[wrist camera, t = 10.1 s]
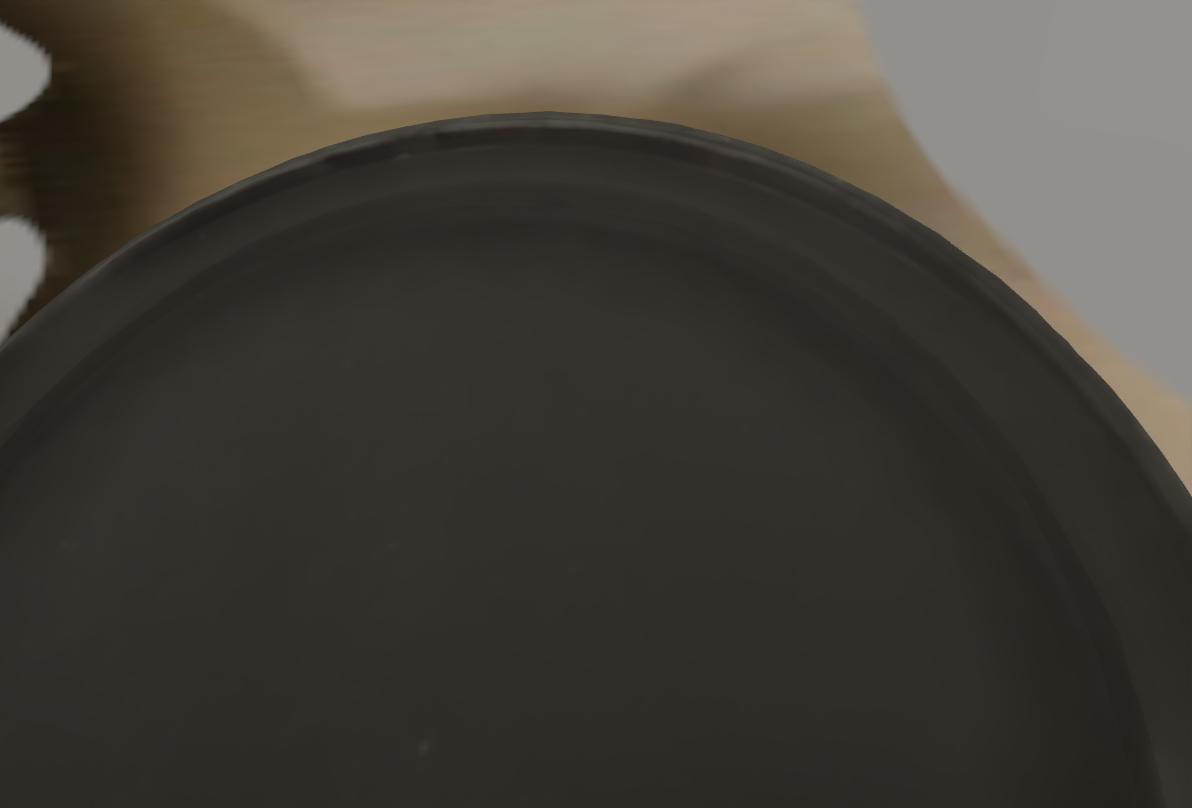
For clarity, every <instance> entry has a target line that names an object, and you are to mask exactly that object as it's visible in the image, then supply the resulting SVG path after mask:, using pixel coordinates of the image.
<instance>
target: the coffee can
mask: <svg viewBox="0 0 1192 808" xmlns="http://www.w3.org/2000/svg"><path fill="white" fill-rule="evenodd" d="M0 808H1192V497H1191V495H1190V493H1189V492H1188V490H1187V489H1186V487H1185V485H1184V484H1183V483H1182V481H1181V480H1180V478H1179V477H1178V475H1177V474H1176V472H1175V471H1174V470H1173V468H1172V467H1171V465H1170V464H1169V462H1168V461H1167V459H1166V458H1165V456H1164V455H1163V454H1162V452H1161V451H1160V449H1159V448H1158V447H1157V445H1156V444H1155V443H1154V441H1153V440H1152V439H1151V438H1150V436H1149V435H1148V434H1147V432H1146V431H1145V430H1144V428H1143V427H1142V426H1141V424H1140V423H1139V422H1138V420H1137V419H1136V418H1135V417H1134V415H1133V414H1132V413H1131V411H1130V410H1129V409H1128V408H1127V407H1126V405H1125V404H1124V403H1123V402H1122V400H1121V399H1120V398H1119V397H1118V396H1117V394H1116V393H1115V392H1114V391H1113V389H1112V388H1111V387H1110V386H1109V385H1108V384H1107V383H1106V382H1105V381H1104V380H1103V379H1102V378H1101V377H1100V375H1099V374H1098V373H1097V372H1096V371H1095V370H1094V369H1093V368H1092V367H1091V366H1090V365H1089V364H1088V363H1087V362H1086V361H1085V360H1084V359H1083V358H1081V357H1080V356H1079V355H1078V354H1077V352H1076V351H1075V350H1074V349H1073V348H1072V346H1071V345H1070V344H1069V343H1068V342H1067V341H1066V340H1065V339H1064V338H1063V337H1062V336H1061V335H1060V334H1058V333H1057V332H1056V331H1055V330H1054V329H1053V328H1052V327H1051V326H1050V325H1049V324H1048V323H1047V322H1046V321H1045V320H1044V319H1043V318H1042V316H1041V315H1040V314H1039V313H1038V312H1037V311H1036V310H1035V309H1034V308H1032V307H1031V306H1030V305H1029V304H1028V303H1027V302H1026V301H1024V300H1023V299H1022V298H1021V297H1020V296H1019V295H1018V294H1017V293H1015V292H1014V291H1013V290H1012V289H1011V288H1010V287H1009V286H1007V285H1006V284H1005V283H1004V282H1003V281H1002V280H1001V279H1000V278H998V277H997V276H996V275H994V274H993V273H991V272H990V271H989V270H987V269H986V268H984V267H983V266H982V265H980V264H979V263H977V262H976V261H975V260H973V259H972V258H970V257H969V256H968V255H966V254H965V253H963V252H962V251H961V250H959V249H958V248H957V247H955V246H954V245H953V244H951V243H950V242H949V241H947V240H946V239H945V238H943V237H942V236H941V235H939V234H938V233H936V232H935V231H933V230H931V229H930V228H928V227H926V226H924V225H923V224H921V223H919V222H918V221H916V220H914V219H913V218H911V217H909V216H908V215H906V214H904V213H903V212H901V211H900V210H898V209H896V208H895V207H893V206H891V205H890V204H888V203H886V202H885V201H883V200H882V199H880V198H878V197H876V196H874V195H872V194H870V193H868V192H866V191H864V190H861V189H859V188H857V187H855V186H853V185H851V184H849V183H847V182H845V181H843V180H841V179H839V178H837V177H835V176H833V175H830V174H828V173H826V172H824V171H822V170H819V169H817V168H815V167H813V166H811V165H808V164H806V163H803V162H801V161H798V160H795V159H793V158H790V157H787V156H785V155H782V154H779V153H777V152H774V151H771V150H768V149H766V148H763V147H760V146H757V145H754V144H750V143H747V142H743V141H739V140H736V139H732V138H729V137H725V136H722V135H718V134H714V133H710V132H705V131H701V130H697V129H693V128H689V127H685V126H682V125H678V124H671V123H665V122H659V121H653V120H643V119H633V118H624V117H616V116H608V115H596V114H580V113H564V112H551V111H548V112H531V113H513V114H488V115H480V116H472V117H464V118H456V119H448V120H440V121H434V122H429V123H423V124H418V125H413V126H407V127H402V128H398V129H393V130H388V131H384V132H379V133H374V134H370V135H365V136H362V137H358V138H355V139H352V140H348V141H345V142H341V143H338V144H334V145H331V146H328V147H325V148H322V149H319V150H317V151H314V152H311V153H308V154H305V155H302V156H299V157H296V158H293V159H291V160H288V161H286V162H284V163H282V164H279V165H277V166H275V167H273V168H270V169H268V170H265V171H263V172H261V173H258V174H256V175H253V176H251V177H248V178H246V179H244V180H242V181H240V182H238V183H235V184H233V185H231V186H229V187H227V188H225V189H223V190H221V191H219V192H217V193H215V194H212V195H210V196H208V197H206V198H204V199H202V200H200V201H198V202H196V203H194V204H192V205H191V206H189V207H187V208H185V209H184V210H182V211H180V212H179V213H177V214H175V215H173V216H172V217H170V218H168V219H166V220H164V221H162V222H160V223H158V224H156V225H154V226H152V227H151V228H149V229H148V230H146V231H145V232H143V233H141V234H140V235H138V236H137V237H135V238H134V239H132V240H131V241H129V242H128V243H127V244H125V245H124V246H123V247H121V248H120V249H119V250H118V251H116V252H115V253H114V254H112V255H111V256H109V257H107V258H106V259H104V260H102V261H101V262H99V263H98V264H96V265H95V266H94V267H92V268H91V269H90V270H89V271H87V272H86V273H85V274H83V275H82V276H81V277H80V278H78V279H77V280H76V281H75V282H73V283H72V284H71V285H70V286H69V287H67V288H66V289H65V290H64V291H63V292H61V293H60V294H59V295H58V296H57V297H55V298H54V299H53V300H52V301H51V302H49V303H48V304H47V305H46V306H45V307H43V308H42V309H41V310H40V311H39V312H37V313H36V314H35V315H34V316H33V317H32V318H31V319H30V320H28V321H27V322H26V323H25V324H24V325H23V326H22V327H21V328H20V329H19V330H17V331H16V332H15V333H14V334H13V335H12V336H11V337H10V338H9V339H7V340H6V341H5V342H4V343H3V344H2V345H1V346H0Z"/></svg>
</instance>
